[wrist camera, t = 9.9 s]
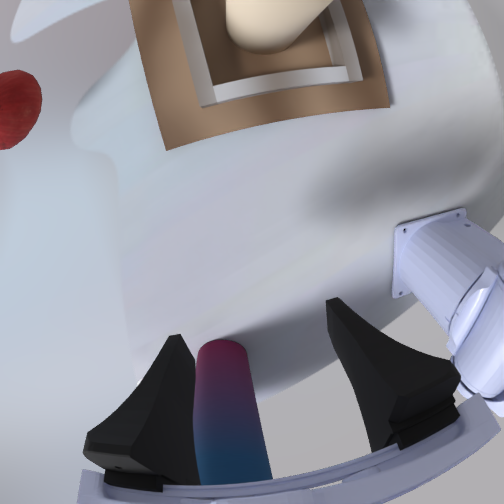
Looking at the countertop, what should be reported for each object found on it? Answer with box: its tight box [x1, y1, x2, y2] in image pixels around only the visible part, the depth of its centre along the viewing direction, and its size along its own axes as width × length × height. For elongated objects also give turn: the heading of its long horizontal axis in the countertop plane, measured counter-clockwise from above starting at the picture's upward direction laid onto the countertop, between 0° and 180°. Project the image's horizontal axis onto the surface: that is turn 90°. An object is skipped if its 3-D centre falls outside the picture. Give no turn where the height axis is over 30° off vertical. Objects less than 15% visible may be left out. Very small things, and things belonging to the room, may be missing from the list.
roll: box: [226, 0, 333, 55], centre depth 9 cm, size 5×5×8 cm
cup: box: [193, 340, 273, 501], centre depth 20 cm, size 7×7×15 cm
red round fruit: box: [0, 70, 42, 150], centre depth 10 cm, size 6×6×8 cm
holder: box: [129, 0, 390, 151], centre depth 12 cm, size 16×14×3 cm
